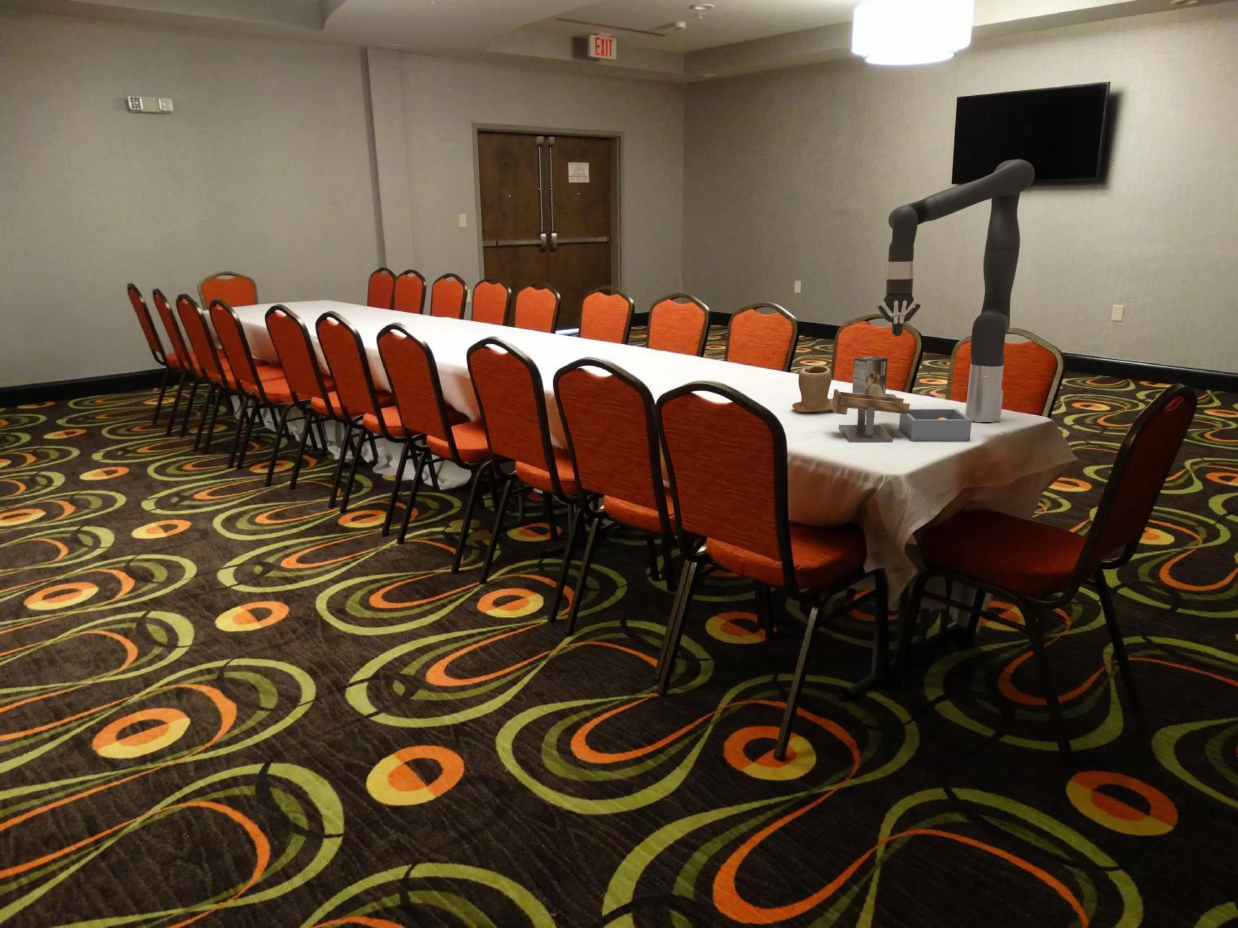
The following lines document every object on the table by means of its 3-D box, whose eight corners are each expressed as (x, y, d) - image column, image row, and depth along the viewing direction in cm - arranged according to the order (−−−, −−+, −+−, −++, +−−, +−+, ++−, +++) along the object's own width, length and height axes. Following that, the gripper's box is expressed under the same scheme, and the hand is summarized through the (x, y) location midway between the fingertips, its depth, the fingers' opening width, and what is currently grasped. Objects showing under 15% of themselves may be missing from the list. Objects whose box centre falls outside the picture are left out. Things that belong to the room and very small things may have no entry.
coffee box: (871, 402, 284) (874, 355, 279) (885, 406, 278) (888, 358, 274) (850, 405, 280) (853, 357, 275) (864, 409, 274) (867, 360, 270)
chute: (891, 407, 255) (895, 389, 253) (907, 421, 237) (910, 402, 236) (825, 400, 255) (828, 382, 254) (836, 414, 238) (839, 395, 236)
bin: (954, 428, 248) (955, 408, 247) (969, 441, 235) (971, 420, 233) (898, 428, 249) (900, 409, 248) (911, 441, 236) (913, 420, 234)
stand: (879, 428, 251) (881, 396, 248) (892, 442, 235) (894, 408, 233) (838, 428, 252) (840, 396, 249) (848, 442, 236) (850, 408, 234)
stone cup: (800, 416, 266) (802, 370, 262) (788, 408, 278) (790, 363, 273) (846, 414, 268) (849, 368, 264) (832, 406, 279) (834, 361, 275)
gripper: (918, 275, 251) (915, 333, 256) (874, 277, 251) (871, 335, 256) (926, 277, 244) (923, 337, 248) (880, 278, 244) (877, 338, 249)
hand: (896, 335), depth 252 cm, fingers closed
